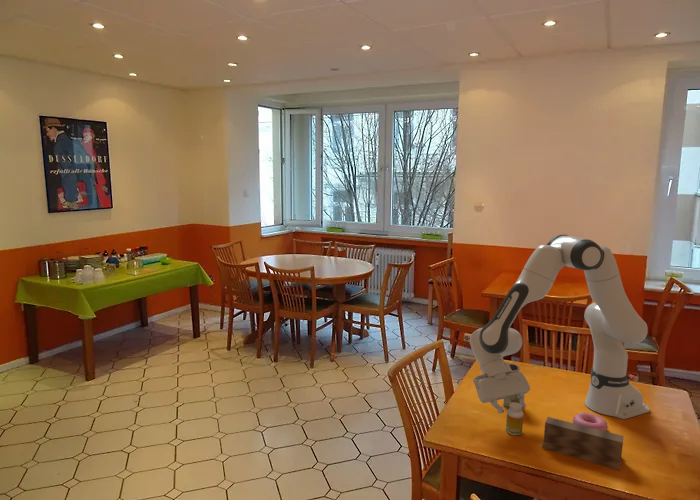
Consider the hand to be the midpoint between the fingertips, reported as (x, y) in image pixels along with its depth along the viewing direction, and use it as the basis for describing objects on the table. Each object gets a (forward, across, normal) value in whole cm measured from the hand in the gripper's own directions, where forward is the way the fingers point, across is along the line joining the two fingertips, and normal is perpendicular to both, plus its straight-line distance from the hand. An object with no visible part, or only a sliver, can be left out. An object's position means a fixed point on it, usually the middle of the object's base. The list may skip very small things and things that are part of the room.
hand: (512, 410), depth 166 cm
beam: (+19, +11, -8) cm, 23 cm away
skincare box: (-5, +13, +15) cm, 20 cm away
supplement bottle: (+6, 0, +4) cm, 8 cm away
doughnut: (+12, +26, -2) cm, 29 cm away
